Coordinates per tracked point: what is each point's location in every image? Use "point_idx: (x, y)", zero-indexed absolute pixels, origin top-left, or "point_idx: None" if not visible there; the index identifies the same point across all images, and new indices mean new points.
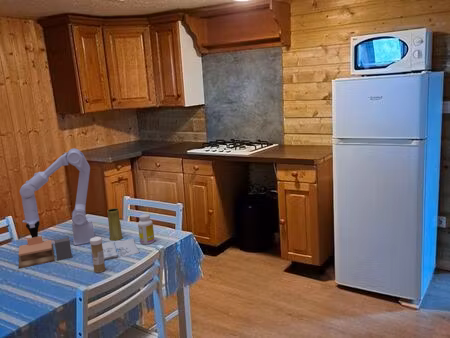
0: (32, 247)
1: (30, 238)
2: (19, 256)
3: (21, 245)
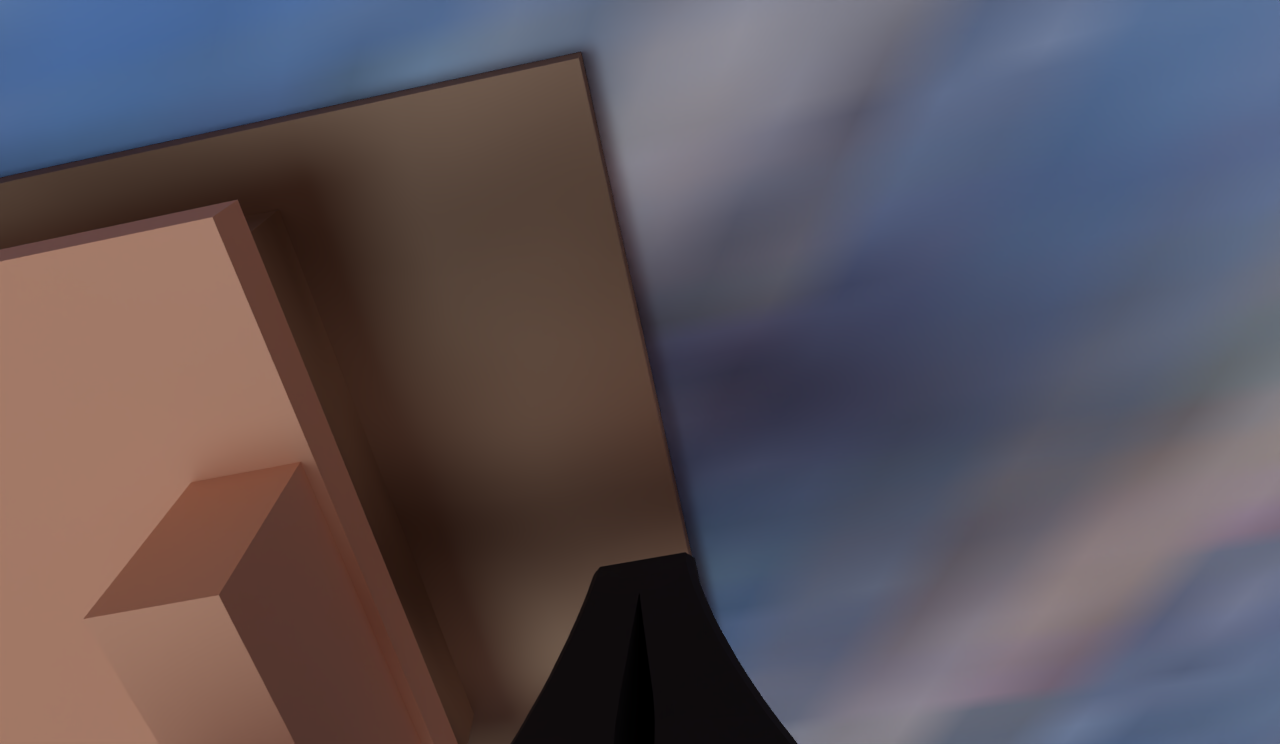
0: (3, 627)
1: (192, 698)
2: (98, 165)
3: (237, 278)
